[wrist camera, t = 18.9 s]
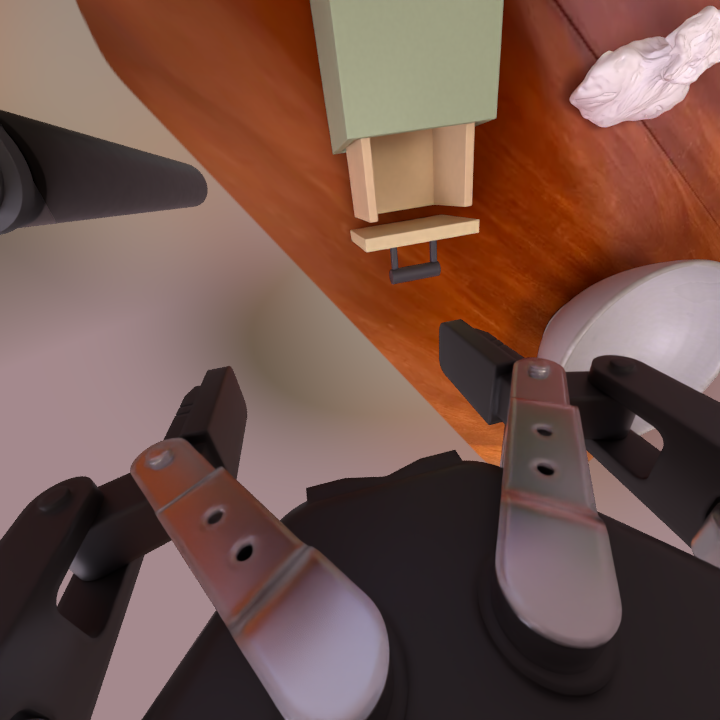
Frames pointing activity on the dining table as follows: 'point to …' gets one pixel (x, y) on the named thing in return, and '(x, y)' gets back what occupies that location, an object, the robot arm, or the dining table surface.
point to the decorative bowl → (644, 323)
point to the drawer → (412, 190)
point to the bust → (649, 73)
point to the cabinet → (406, 64)
